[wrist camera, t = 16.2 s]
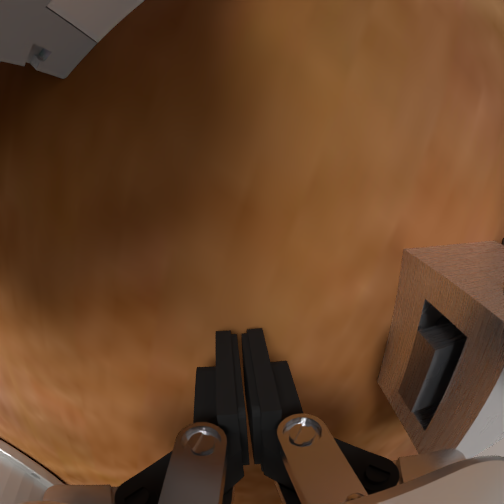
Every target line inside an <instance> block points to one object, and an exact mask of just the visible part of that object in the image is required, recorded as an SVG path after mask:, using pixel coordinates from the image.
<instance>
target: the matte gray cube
mask: <svg viewBox="0 0 504 504" xmlns="http://www.w3.org/2000/svg"><path fill="white" fill-rule="evenodd" d="M448 322H452V323H453V324H454V325H455V326H456V327H457V328H458V329H459V330H460V331H461V332H462V333H464V334H465V335H466V336H467V340H466V343H465V346H464V348H463V351H462V354H461V356H460V359H459V361H458V364H457V366H456V369H455V371H454V373H453V376H452V378H451V380H450V383H449V385H448V387H447V389H446V391H445V393H444V396H443V398H442V400H441V402H438V403H436V404H433V405H430V406H428V407H425V408H422V409H420V410H417V411H414V412H410V410H409V409H408V407H407V405H406V404H405V402H404V401H403V399H402V398H401V396H400V394H399V393H398V391H399V388H400V385H401V382H402V379H403V376H404V373H405V370H406V367H407V364H408V361H409V358H410V354H411V351H412V348H413V344H414V341H415V337H416V333H417V330H421V329H425V328H429V327H433V326H437V325H441V324H445V323H448ZM377 382H378V384H379V386H380V387H381V389H382V391H383V392H384V394H385V396H386V398H387V399H388V401H389V403H390V404H391V406H392V408H393V410H394V411H395V413H396V415H397V416H398V418H399V420H400V422H401V423H402V425H403V427H404V429H405V430H406V432H407V434H408V436H409V437H410V439H411V441H412V443H413V445H414V446H415V448H416V450H417V452H418V454H423V453H429V452H434V451H439V450H443V449H451V448H453V449H456V450H459V451H460V452H461V453H463V455H464V456H465V458H466V459H469V458H472V457H474V456H476V455H477V454H479V453H481V452H482V451H484V450H485V449H487V448H489V447H490V446H492V445H493V444H495V443H496V442H498V441H499V440H501V439H502V438H504V245H502V244H500V243H498V242H496V241H485V242H475V243H464V244H453V245H443V246H432V247H421V248H409V249H403V257H402V265H401V272H400V278H399V285H398V291H397V296H396V302H395V307H394V313H393V318H392V323H391V327H390V332H389V336H388V341H387V345H386V349H385V353H384V357H383V361H382V365H381V369H380V373H379V376H378V380H377Z"/></svg>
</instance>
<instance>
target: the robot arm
mask: <svg viewBox="0 0 504 504" xmlns="http://www.w3.org/2000/svg"><path fill="white" fill-rule="evenodd" d="M241 335H242V353H243V370H244V386H245V396H246V404H247V412H248V420H249V427H250V435H251V442H252V450H253V457H254V464H261V469H262V471H264V475H266V476H268V477H269V478H271V479H273V480H274V482H275V486H276V488H277V491H278V493H279V496H280V498H281V501H282V503H283V504H504V457H501V456H481V457H475V458H469V459H466V458H465V456H464V455H463V453H461V452H460V451H459V450H456V449H453V448H451V449H443V450H439V451H434V452H429V453H423V454H418V455H412V456H405V457H399V458H398V460H394V461H391V460H389V459H387V458H384V457H382V456H379V455H376V454H373V453H371V452H368V451H365V450H363V449H360V448H358V447H355V446H352V445H350V444H348V443H345V442H343V441H340V440H338V439H335V438H333V436H332V435H331V433H330V431H329V430H328V428H327V426H326V425H325V423H324V422H323V421H322V420H321V419H319V418H318V417H316V416H313V415H310V414H303V410H302V407H301V404H300V401H299V398H298V394H297V391H296V388H295V385H294V382H293V378H292V375H291V372H290V369H289V366H288V363H287V361H279V362H270V359H269V355H268V351H267V347H266V342H265V338H264V334H263V330H262V328H258V329H247V333H244V334H241ZM243 465H249V452H248V439H247V425H246V412H245V403H244V395H243V386H242V377H241V368H240V359H239V350H238V341H237V334H231V330H230V331H216V367H197V370H196V384H195V401H194V421H193V424H190V425H188V426H186V427H184V428H183V429H182V430H181V431H180V432H179V433H178V435H177V437H176V441H175V444H174V448H173V451H171V452H170V453H168V454H167V455H165V456H164V457H163V458H161V459H160V460H158V461H157V462H155V463H154V464H152V465H151V466H149V467H148V468H146V469H145V470H143V471H141V472H140V473H138V474H137V475H135V476H134V477H132V478H130V479H129V480H127V481H126V482H124V483H123V484H122V485H120V486H119V487H111V485H65V484H64V483H62V482H61V481H60V480H59V479H57V478H56V477H55V476H54V475H52V474H51V473H50V472H48V471H47V470H46V469H44V468H43V467H42V466H40V465H39V464H37V463H36V462H34V461H33V460H32V459H30V458H29V457H27V456H26V455H24V454H23V453H21V452H20V451H18V450H16V449H15V448H13V447H12V446H10V445H9V444H7V443H5V442H4V441H2V440H0V504H233V502H234V492H235V484H236V483H237V482H238V481H239V480H241V479H242V478H243V477H244V471H243Z"/></svg>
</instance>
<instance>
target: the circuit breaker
mask: <svg viewBox="0 0 504 504" xmlns="http://www.w3.org/2000/svg"><path fill="white" fill-rule="evenodd" d="M143 1H145V0H0V62H1V61H2V62H7V63H11V64H16V65H20V66H25V63H26V62H27V63H30V64H31V65H32V66H33V67H34V68H35V69H36V70H37V71H41V72H44V73H47V74H50V75H53V76H56V77H59V78H62V79H64V78H66V77H67V76H68V75H69V74H70V73H71V72H72V70H73V69H74V68H75V67H76V66H77V65H78V64H79V62H80V61H81V60H82V59H83V58H84V57H85V56H86V55H87V54H88V53H89V51H90V50H91V49H92V48H93V47H94V46H95V45H96V44H97V43H98V42H99V41H100V40H101V39H102V38H103V37H104V36H105V35H106V34H107V33H108V32H109V31H110V30H111V29H112V28H114V27H115V26H116V25H117V24H118V23H119V22H120V21H121V20H122V19H123V18H125V17H126V16H127V15H128V14H129V13H130V12H131V11H133V10H134V9H135V8H136V7H137V6H139V5H140V4H141V3H142V2H143ZM68 21H69V22H68ZM72 24H73V25H72ZM75 26H76V27H75ZM79 29H80V30H79ZM90 37H91V38H92V39H93V40H92V39H91V38H90ZM94 40H95V41H96V42H97V43H96V42H95V41H94Z"/></svg>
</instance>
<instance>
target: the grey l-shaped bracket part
mask: <svg viewBox="0 0 504 504" xmlns="http://www.w3.org/2000/svg"><path fill="white" fill-rule="evenodd" d="M502 245H504V238H503V243H502ZM466 340H467V336H466V335H465V334H464V333H462V332H461V331H460V330H459V329H458V328H457V327H456V326H455V325H454V324H453V323H452V322H448V323H445V324H441V325H437V326H433V327H429V328H425V329H421V330H417V333H416V337H415V341H414V344H413V348H412V351H411V354H410V358H409V361H408V364H407V367H406V370H405V373H404V376H403V379H402V382H401V385H400V388H399V391H398V393H399V394H400V396H401V398H402V399H403V401H404V402H405V404H406V405H407V407H408V409H409V410H410V412H414V411H417V410H420V409H422V408H425V407H428V406H430V405H433V404H436V403H438V402H441V400H442V398H443V396H444V393H445V391H446V389H447V387H448V385H449V383H450V380H451V378H452V376H453V373H454V371H455V369H456V366H457V364H458V361H459V359H460V356H461V354H462V351H463V348H464V346H465V343H466Z"/></svg>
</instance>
